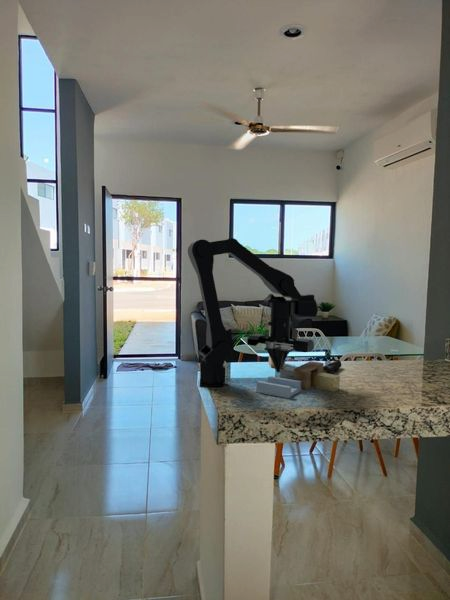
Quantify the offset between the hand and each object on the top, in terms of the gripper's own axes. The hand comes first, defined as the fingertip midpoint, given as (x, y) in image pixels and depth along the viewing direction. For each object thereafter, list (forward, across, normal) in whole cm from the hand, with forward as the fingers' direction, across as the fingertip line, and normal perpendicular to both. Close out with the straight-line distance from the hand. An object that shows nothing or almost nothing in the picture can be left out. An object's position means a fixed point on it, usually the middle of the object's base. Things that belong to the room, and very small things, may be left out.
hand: (278, 372), depth 121 cm
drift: (+2, -6, 0) cm, 6 cm away
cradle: (+2, -5, +11) cm, 12 cm away
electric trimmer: (+3, -9, -18) cm, 21 cm away
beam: (+2, -9, -1) cm, 9 cm away
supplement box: (+3, +9, -18) cm, 20 cm away
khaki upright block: (+2, -14, 0) cm, 14 cm away
